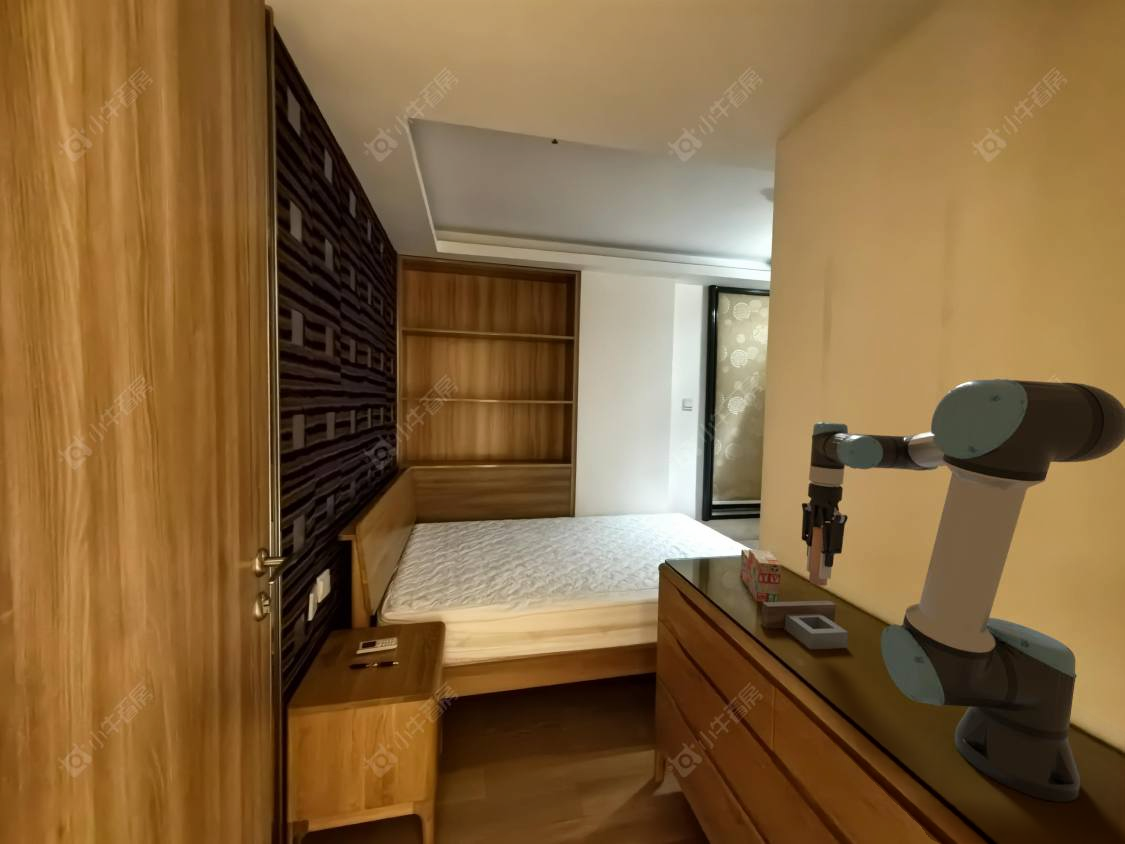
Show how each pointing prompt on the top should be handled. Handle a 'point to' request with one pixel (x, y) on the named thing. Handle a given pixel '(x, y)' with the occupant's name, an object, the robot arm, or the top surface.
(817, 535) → the dowel
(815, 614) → the grey square frame
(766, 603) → the wall
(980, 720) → the robot arm
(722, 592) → the top surface
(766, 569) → the stack of blocks
